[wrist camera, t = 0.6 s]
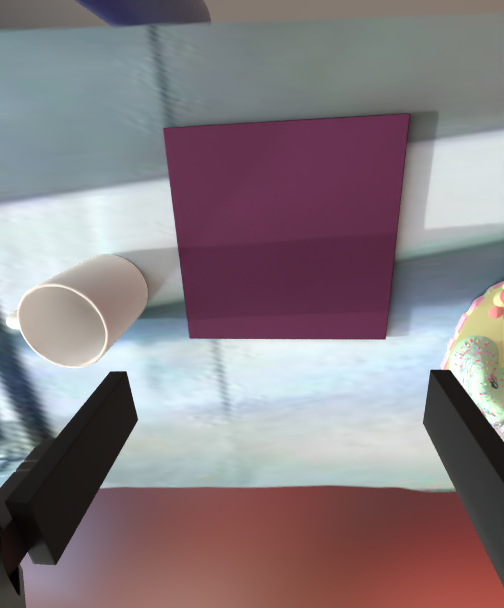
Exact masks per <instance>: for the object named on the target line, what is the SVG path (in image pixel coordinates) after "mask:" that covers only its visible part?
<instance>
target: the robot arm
mask: <svg viewBox="0 0 504 608" xmlns="http://www.w3.org/2000/svg"><path fill="white" fill-rule="evenodd" d="M137 421H138V418H137V414H136V409H135V405H134V401H133V397H132V393H131V388H130V384H129V380H128V376H127V372H126V371H116V372H110V373H109V374H108V375H107V376H106V378H105V379H104V380H103V381H102V382H101V384H100V385H99V386H98V387H97V389H96V390H95V391H94V392H93V393H92V395H91V396H90V397H89V398H88V400H87V401H86V402H85V403H84V405H83V406H82V407H81V408H80V409H79V411H78V412H77V413H76V414H75V416H74V417H73V418H72V419H71V420H70V422H69V423H68V424H67V425H66V427H65V428H64V429H63V430H62V431H61V433H60V434H59V435H58V436H57V438H48V439H46V440H45V441H44V442H42V443H41V444H40V445H38V446H37V447H35V448H34V449H33V450H32V452H31V453H30V454H29V455H28V456H27V457H26V459H25V460H24V462H22V463H21V464H20V466H19V467H18V468H17V469H16V472H14V473H13V474H12V475H11V476H10V477H9V478H8V480H7V481H6V482H5V483H4V484H3V485H2V487H1V488H0V608H26V604H25V593H24V581H23V570H22V568H21V566H20V562H21V561H22V559H23V558H24V556H25V555H26V553H27V552H28V553H29V556H30V558H31V560H32V562H33V564H46V565H56V564H57V562H58V561H59V559H60V557H61V555H62V554H63V552H64V550H65V548H66V546H67V545H68V543H69V541H70V539H71V537H72V536H73V534H74V532H75V531H76V528H77V527H78V525H79V523H80V522H81V520H82V518H83V516H84V515H85V513H86V511H87V509H88V507H89V506H90V504H91V502H92V500H93V499H94V497H95V495H96V493H97V492H98V490H99V488H100V486H101V485H102V483H103V481H104V479H105V478H106V476H107V474H108V472H109V470H110V469H111V467H112V465H113V463H114V462H115V460H116V458H117V456H118V455H119V453H120V451H121V449H122V447H123V446H124V444H125V442H126V440H127V439H128V437H129V435H130V433H131V432H132V430H133V428H134V426H135V424H136V423H137ZM423 424H424V426H425V428H426V430H427V432H428V434H429V436H430V438H431V440H432V442H433V444H434V446H435V448H436V450H437V453H438V455H439V457H440V459H441V461H442V463H443V465H444V467H445V469H446V471H447V473H448V475H449V477H450V479H451V481H452V483H453V485H454V487H455V489H456V491H457V493H458V495H459V497H460V499H461V501H462V503H463V505H464V507H465V509H466V511H467V513H468V515H469V517H470V520H471V522H472V523H473V526H474V528H475V530H476V532H477V533H478V536H479V538H480V540H481V542H482V544H483V546H484V548H485V550H486V552H487V554H488V556H489V558H490V560H491V562H492V564H493V566H494V568H495V570H496V572H497V574H498V576H499V578H500V580H501V582H502V584H503V586H504V442H503V440H502V439H501V438H500V436H499V435H498V434H497V432H496V431H495V430H494V428H493V427H492V425H491V424H490V423H489V421H488V420H487V419H486V417H485V416H484V415H483V413H482V412H481V411H480V409H479V408H478V407H477V405H476V404H475V402H474V401H473V400H472V398H471V397H470V396H469V394H468V393H467V392H466V390H465V389H464V388H463V386H462V385H461V384H460V382H459V381H458V379H457V378H456V377H455V375H454V374H453V373H452V371H451V370H431V371H430V378H429V385H428V392H427V399H426V406H425V413H424V420H423Z"/></svg>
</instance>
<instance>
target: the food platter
mask: <svg viewBox="0 0 504 608" xmlns="http://www.w3.org/2000/svg"><path fill="white" fill-rule="evenodd" d="M447 348H448V350H447V353H446V355H445V357H444V359H443V362H442V363H441V368H442V370H451V371H452V373H453V374H454V375H455V377H456V378H457V379H458V381H459V382H460V384H461V385H462V386H463V388H464V389H465V390H466V392H467V393H468V394H469V396H470V397H471V398H472V400H473V401H474V402H475V404H476V405H477V407H478V408H479V409H480V411H481V412H482V413H483V415H484V416H485V417H486V419H487V420H488V421H489V423H490V424H491V425H492V427H493V428H494V429H498V428H499V429H500V431H501V432H503V433H504V281H502V282H500V283H498V284H495V285H493V286H491V287H490V288H488V289H487V291H486V292H485V294H484V295H482V296H480V297H478V298H476V299H475V300H474V301H473V303H472V305H471V306H470V308H469V310H468V311H467V312H466V313H464V314H463V315H462V317H461V319H460V321H459V322H458V325H457V326H456V333H455V336H454V337H452V338H451V339H450V341H449V343H448V344H447Z"/></svg>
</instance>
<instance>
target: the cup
mask: <svg viewBox="0 0 504 608" xmlns="http://www.w3.org/2000/svg"><path fill="white" fill-rule="evenodd" d="M147 300H148V289H147V284H146V281H145V279H144V277H143V275H142V274H141V272H140V271H139V270H138V269H137V268H136V267H135V266H134V265H133V264H132V263H131V262H129V261H128V260H126V259H124V258H122V257H119V256H115V255H110V254H102V255H97V256H94V257H91V258H89V259H87V260H85V261H83V262H81V263H79V264H77V265H75V266H73V267H71V268H69V269H67V270H65V271H64V272H62V273H60V274H58V275H56V276H54V277H52V278H50V279H48V280H46V281H44V282H42V283H41V284H39V285H37V286H35V287H33V288H31V289H30V290H28V291H27V292H26V293H25V294H24V296H23V297H22V299H21V301H20V303H19V306H18V309H17V310H15V311H14V312H13V313H11V314H10V315H9V316H8V318H7V320H6V322H7V325H8V326H9V327H11V328H13V329H20V331H21V333H22V335H23V337H24V339H25V340H26V342H27V343H28V344H29V346H30V347H31V348H32V349H33V350H34V351H35V352H36V353H37V354H39V355H40V356H41V357H43V358H44V359H46V360H47V361H49V362H51V363H54V364H56V365H59V366H63V367H68V368H81V367H86V366H89V365H91V364H93V363H95V362H97V361H98V360H99V359H100V358H101V357H102V356H103V355H104V354H105V353H106V352H107V351H108V350H109V349H110V347H111V346H112V345H113V344H114V343H115V342H116V341H117V340H118V339H119V338H120V337H121V336H122V335H123V333H124V332H125V331H126V330H127V329H128V328H129V327H130V326H131V325H132V324H133V323H134V322H135V321H136V319H137V318H138V317H139V316H140V315H141V314H142V312H143V311H144V309H145V307H146V304H147Z"/></svg>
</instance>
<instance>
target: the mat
mask: <svg viewBox="0 0 504 608" xmlns="http://www.w3.org/2000/svg"><path fill="white" fill-rule="evenodd" d="M409 118H410V114H393V115H376V116H359V117H343V118H326V119H309V120H293V121H276V122H259V123H243V124H226V125H209V126H193V127H176V128H163V133H164V140H165V148H166V156H167V164H168V172H169V180H170V188H171V195H172V203H173V211H174V219H175V227H176V235H177V243H178V250H179V258H180V266H181V274H182V282H183V290H184V298H185V305H186V313H187V321H188V329H189V337H190V338H198V339H386V330H387V320H388V311H389V302H390V293H391V284H392V274H393V265H394V256H395V247H396V238H397V228H398V219H399V210H400V201H401V192H402V182H403V173H404V164H405V155H406V145H407V136H408V127H409Z"/></svg>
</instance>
